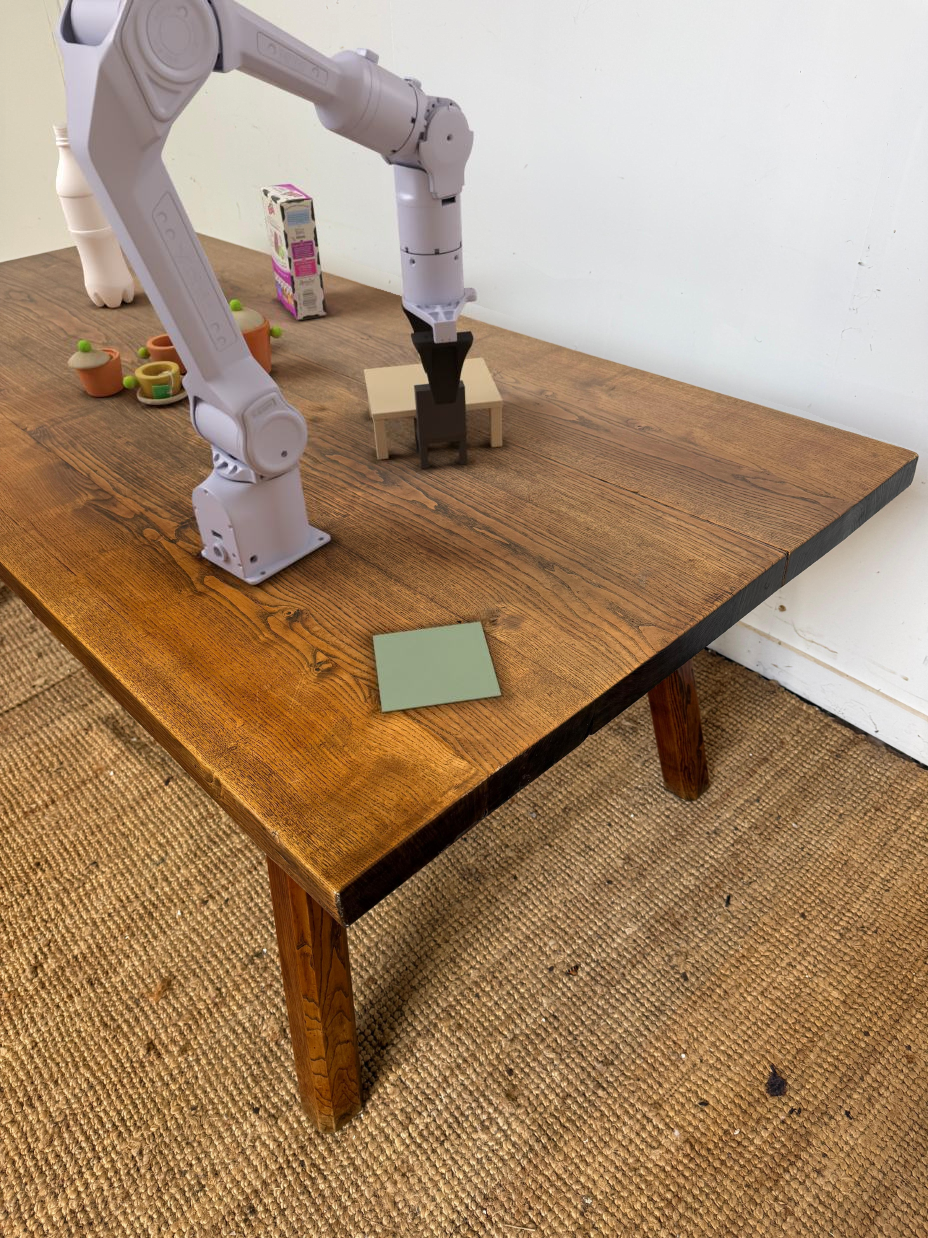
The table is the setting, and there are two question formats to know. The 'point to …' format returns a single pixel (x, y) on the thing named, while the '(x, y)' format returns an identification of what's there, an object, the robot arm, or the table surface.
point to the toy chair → (439, 422)
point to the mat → (434, 667)
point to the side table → (397, 396)
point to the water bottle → (91, 231)
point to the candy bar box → (294, 250)
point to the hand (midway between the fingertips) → (439, 386)
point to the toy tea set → (163, 362)
